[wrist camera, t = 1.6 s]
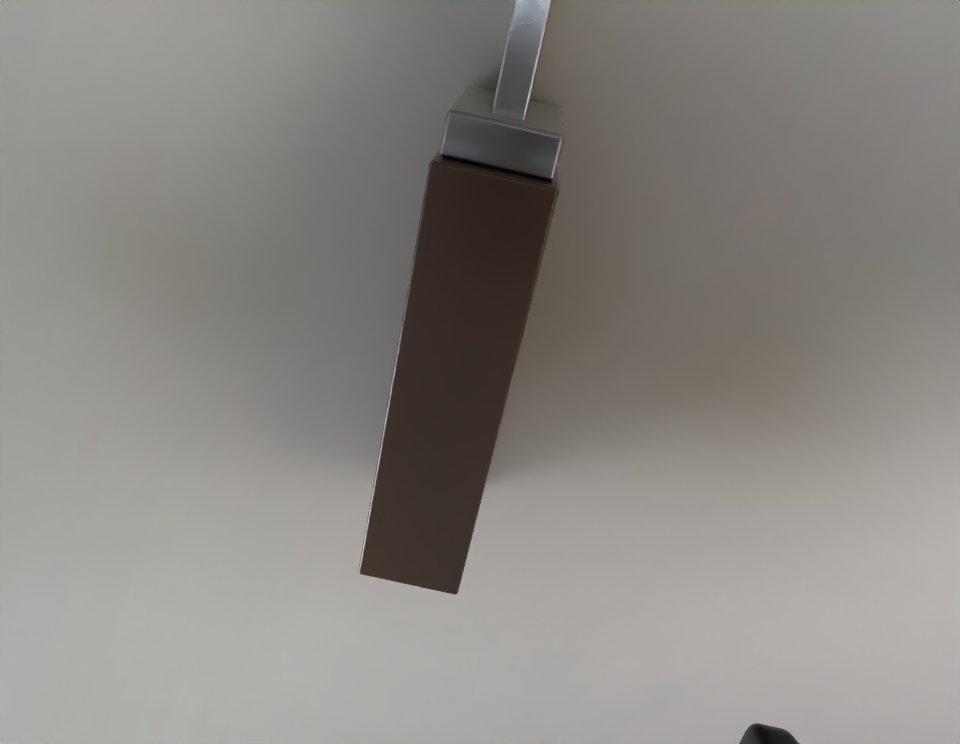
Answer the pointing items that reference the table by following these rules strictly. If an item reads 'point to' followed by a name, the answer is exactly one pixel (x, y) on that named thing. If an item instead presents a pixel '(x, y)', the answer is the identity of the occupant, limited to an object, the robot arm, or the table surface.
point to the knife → (464, 316)
